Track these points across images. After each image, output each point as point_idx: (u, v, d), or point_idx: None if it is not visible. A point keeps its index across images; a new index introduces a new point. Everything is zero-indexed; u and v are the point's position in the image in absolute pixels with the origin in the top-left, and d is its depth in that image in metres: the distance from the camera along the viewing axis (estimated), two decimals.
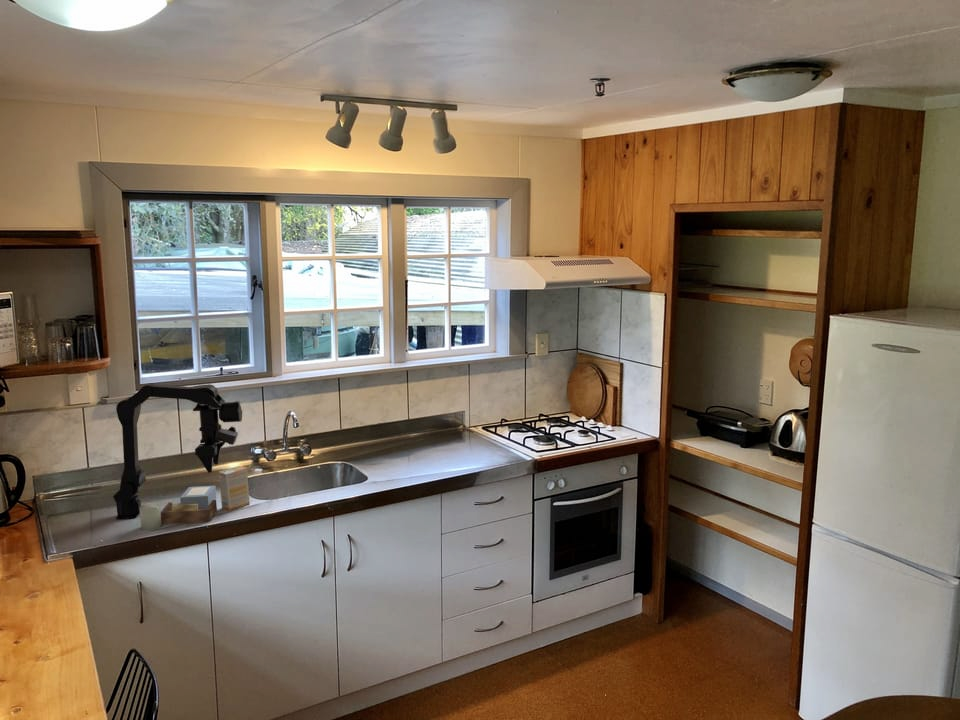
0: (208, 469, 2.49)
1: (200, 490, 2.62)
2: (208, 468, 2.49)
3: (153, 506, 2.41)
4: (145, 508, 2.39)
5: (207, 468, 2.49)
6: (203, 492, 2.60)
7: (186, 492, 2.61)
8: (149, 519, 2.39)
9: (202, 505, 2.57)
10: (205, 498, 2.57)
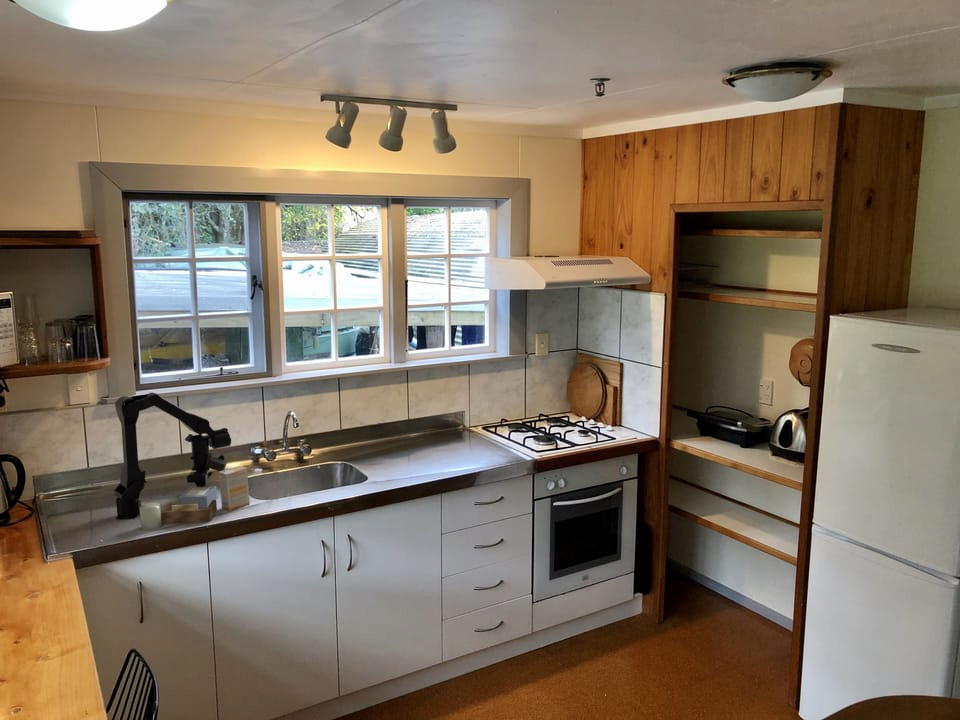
0: None
1: (200, 490, 2.62)
2: None
3: (153, 506, 2.41)
4: (145, 508, 2.39)
5: None
6: (203, 492, 2.60)
7: (186, 492, 2.61)
8: (149, 519, 2.39)
9: (201, 506, 2.57)
10: (204, 498, 2.56)
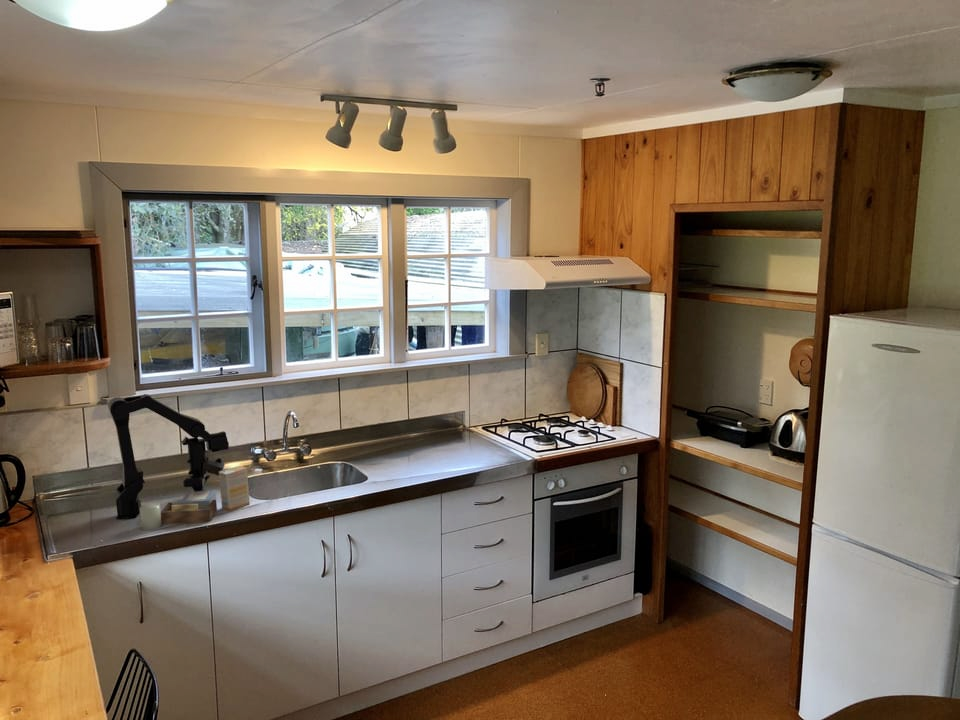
0: None
1: (200, 495, 2.57)
2: None
3: (153, 506, 2.41)
4: (145, 508, 2.39)
5: None
6: (203, 496, 2.56)
7: (186, 497, 2.56)
8: (149, 519, 2.39)
9: None
10: (206, 503, 2.52)
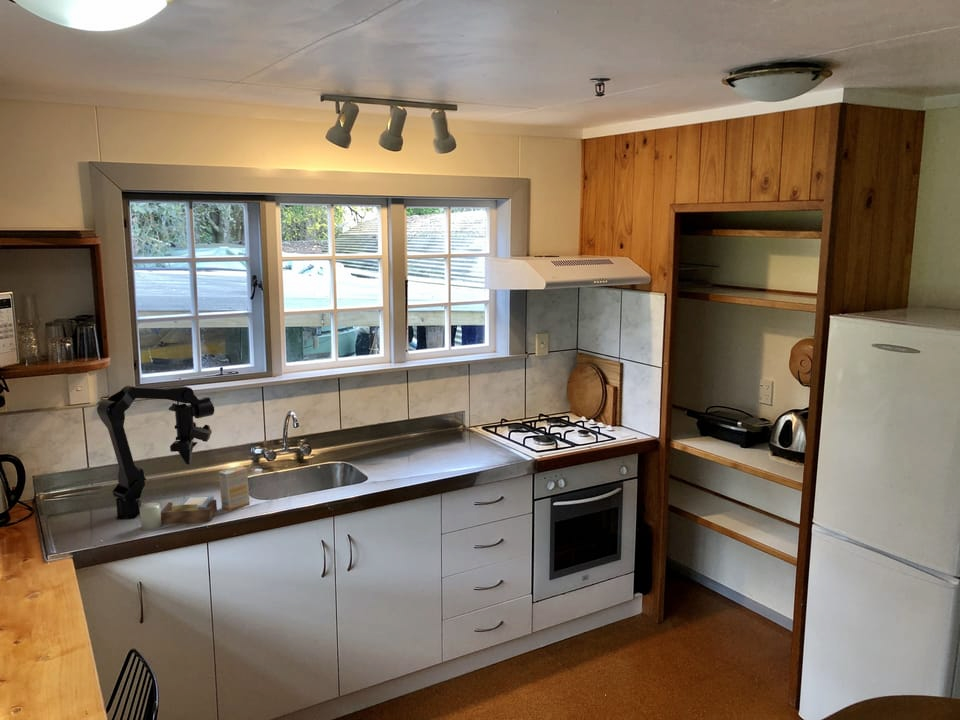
0: (186, 461, 2.68)
1: (197, 501, 2.51)
2: (186, 460, 2.68)
3: (153, 506, 2.41)
4: (145, 508, 2.39)
5: (185, 460, 2.68)
6: (200, 502, 2.50)
7: (183, 502, 2.50)
8: (149, 519, 2.39)
9: None
10: None
